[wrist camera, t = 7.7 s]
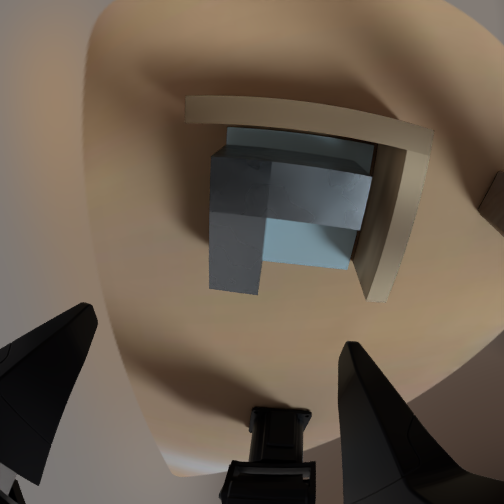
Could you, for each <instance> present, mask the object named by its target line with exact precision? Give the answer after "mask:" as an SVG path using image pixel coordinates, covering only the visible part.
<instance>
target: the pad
mask: <svg viewBox="0 0 504 504" xmlns="http://www.w3.org/2000/svg"><path fill="white" fill-rule="evenodd" d="M226 145H241V146H253V147H263V148H273V149H281V150H290V151H297V152H305V153H312V154H318V155H325V156H331V157H337V158H343V159H348V160H354V161H355V162H356V163H358V164H359V165H360V166H361V167H362V168H363V169H364V170H365V171H366V172H367V173H370V167H371V161H372V156H373V149H374V145H371V144H366V143H361V142H356V141H350V140H344V139H339V138H332V137H326V136H319V135H312V134H304V133H296V132H288V131H278V130H267V129H255V128H239V127H227V144H226ZM356 234H357V230H354V229H347V228H340V227H333V226H326V225H319V224H311V223H303V222H296V221H288V220H280V219H271V218H267V226H266V235H265V244H264V253H263V261H271V262H280V263H289V264H298V265H308V266H317V267H327V268H336V269H346V270H347V269H348V265H349V261H350V258H351V254H352V250H353V246H354V242H355V238H356Z"/></svg>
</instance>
